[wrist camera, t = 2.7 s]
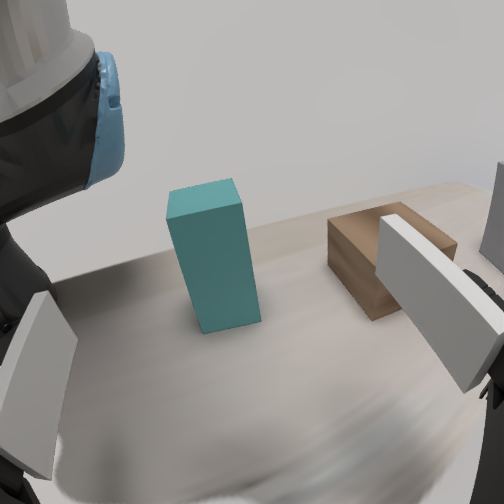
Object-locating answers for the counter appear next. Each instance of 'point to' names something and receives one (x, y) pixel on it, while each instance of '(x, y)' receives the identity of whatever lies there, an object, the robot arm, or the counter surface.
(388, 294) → the walnut block
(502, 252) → the grey pillar
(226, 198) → the teal pillar
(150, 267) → the counter surface
